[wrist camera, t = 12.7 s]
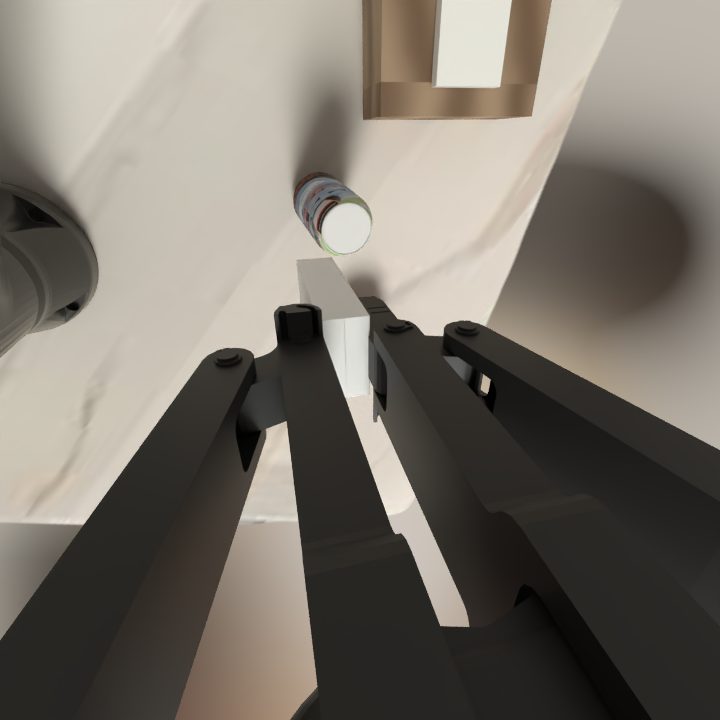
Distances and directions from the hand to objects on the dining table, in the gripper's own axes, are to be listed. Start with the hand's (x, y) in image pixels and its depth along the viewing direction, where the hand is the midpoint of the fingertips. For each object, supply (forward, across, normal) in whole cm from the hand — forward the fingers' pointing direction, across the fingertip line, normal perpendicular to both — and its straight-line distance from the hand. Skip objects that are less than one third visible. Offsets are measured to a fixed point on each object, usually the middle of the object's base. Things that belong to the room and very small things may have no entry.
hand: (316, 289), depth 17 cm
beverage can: (+33, +5, -1) cm, 33 cm away
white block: (+32, +18, +13) cm, 39 cm away
